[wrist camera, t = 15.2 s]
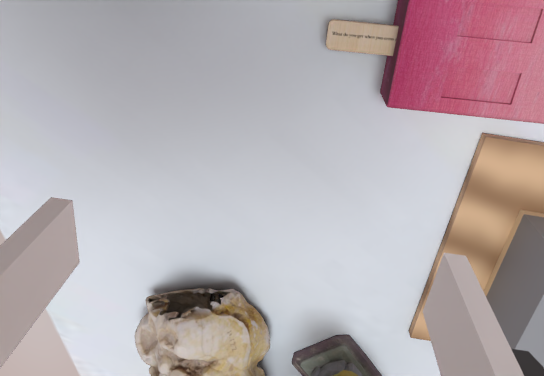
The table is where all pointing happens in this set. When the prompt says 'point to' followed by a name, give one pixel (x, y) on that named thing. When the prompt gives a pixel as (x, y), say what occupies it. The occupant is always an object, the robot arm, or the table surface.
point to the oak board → (489, 208)
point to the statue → (334, 359)
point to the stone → (202, 334)
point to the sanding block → (521, 285)
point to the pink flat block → (457, 56)
